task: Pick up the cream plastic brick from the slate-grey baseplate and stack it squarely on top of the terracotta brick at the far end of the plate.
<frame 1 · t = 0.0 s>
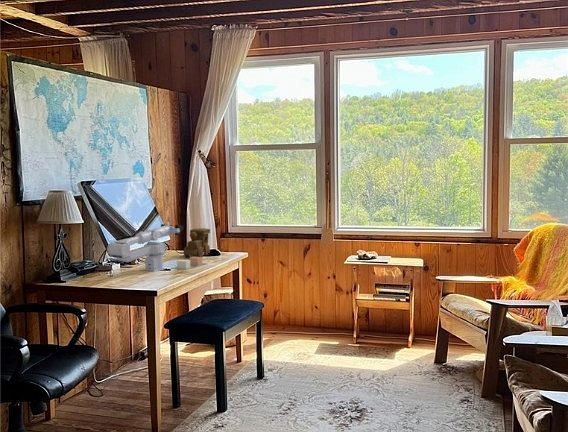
hand: (177, 227, 331), 22 cm above the table, tool horizontal, fingers open, 7 cm apart
baseplate: (190, 267, 325), on the table
cream brick: (183, 267, 320), point 1 cm above the table, touching baseplate
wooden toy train: (197, 256, 363), on the table
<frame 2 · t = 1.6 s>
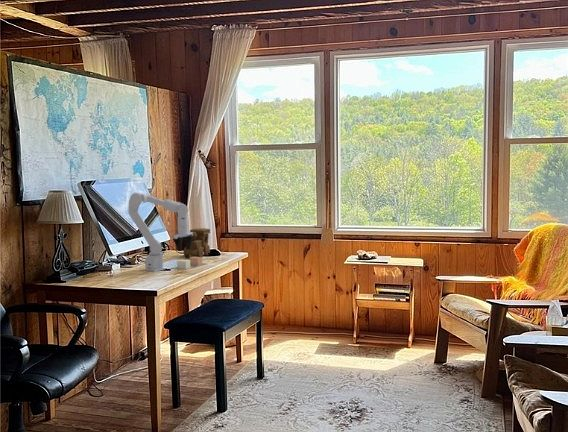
hand: (183, 250, 319), 10 cm above the table, tool pointing down, fingers open, 7 cm apart
nothing on the table moved.
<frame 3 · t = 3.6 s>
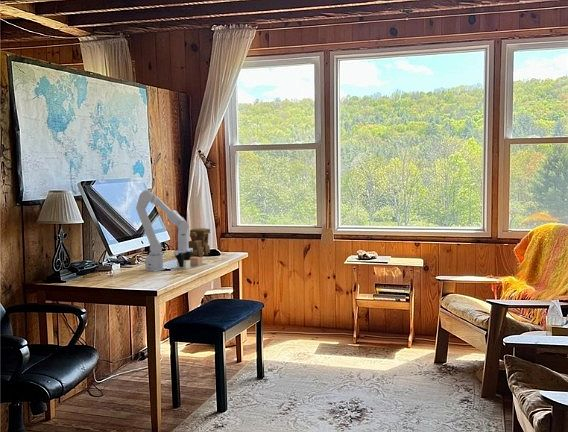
hand: (183, 266, 320), 1 cm above the table, tool pointing down, fingers closed on cream brick, 4 cm apart
cream brick: (183, 267, 320), point 1 cm above the table, touching baseplate, gripper
everything else where it was.
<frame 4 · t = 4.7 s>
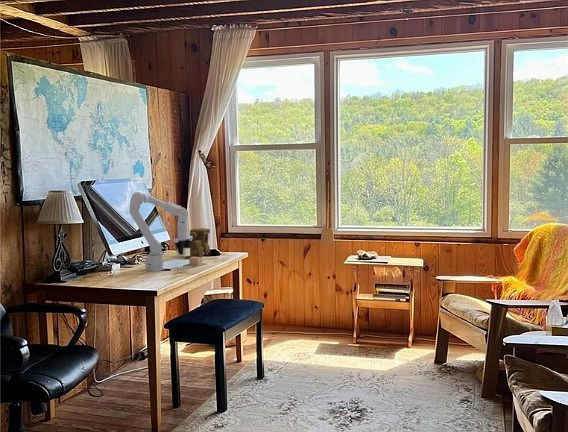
hand: (183, 254, 319), 8 cm above the table, tool pointing down, fingers closed on cream brick, 4 cm apart
cream brick: (183, 255, 319), point 7 cm above the table, touching gripper
everything else where it was.
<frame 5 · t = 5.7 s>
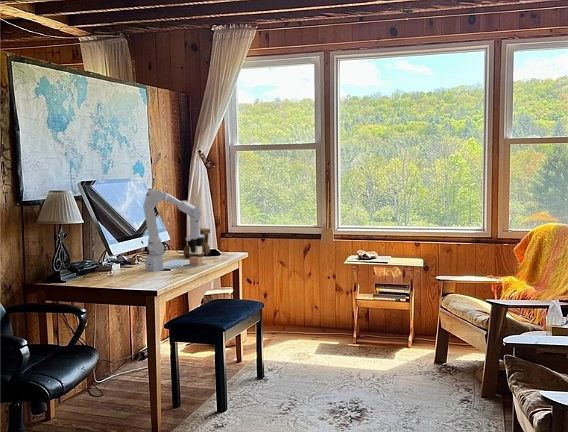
hand: (195, 252, 329), 8 cm above the table, tool pointing down, fingers closed on cream brick, 4 cm apart
cream brick: (195, 253, 329), point 7 cm above the table, touching gripper
everything else where it was.
when the fingers open (6 cm above the table, at t = 6.3 s): cream brick stays where it is, resting on baseplate.
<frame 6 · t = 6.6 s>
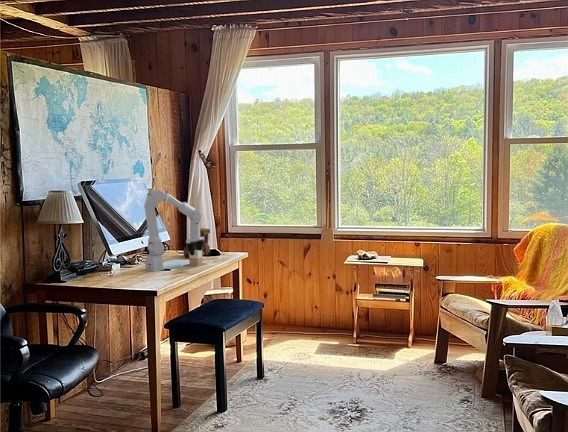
hand: (195, 254, 329), 6 cm above the table, tool pointing down, fingers open, 6 cm apart
cream brick: (195, 257, 329), point 5 cm above the table, touching baseplate
everything else where it was.
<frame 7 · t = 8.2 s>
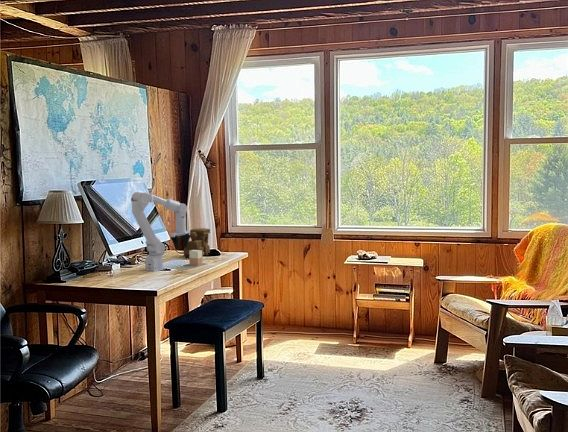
hand: (181, 248, 327), 10 cm above the table, tool pointing down, fingers open, 7 cm apart
nothing on the table moved.
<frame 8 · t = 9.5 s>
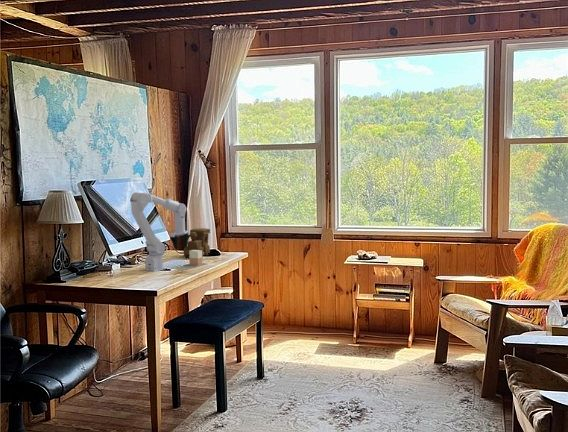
hand: (180, 248, 326), 10 cm above the table, tool pointing down, fingers open, 7 cm apart
nothing on the table moved.
at the end: cream brick 0.1 cm from the target spot on the baseplate, point 4.6 cm above the baseplate's base; cream brick tilted 0°; the gripper is holding nothing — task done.
